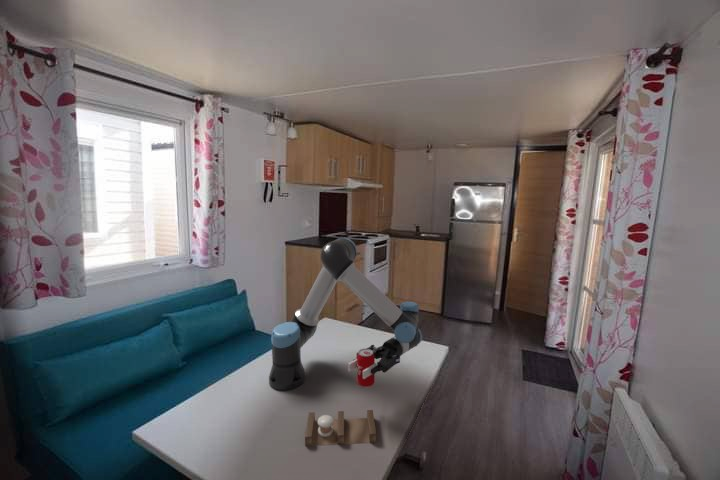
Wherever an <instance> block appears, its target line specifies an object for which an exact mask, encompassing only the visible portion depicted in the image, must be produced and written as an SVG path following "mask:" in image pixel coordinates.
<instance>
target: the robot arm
mask: <svg viewBox="0 0 720 480" xmlns="http://www.w3.org/2000/svg"><path fill="white" fill-rule="evenodd" d="M357 255H358V248H357V245H356V243H355V242H354V241H353V240H351V239H350V238H347V237H338V238H336V239H335V240H332V241H329V242H328V243H326V244H325V245H324V246H323V247H322V249H321V251H320V262H321V265H322V268H321V269H320V271H319V273H318V275H317V277H316V279H315V281H314V283H313V285H312V287H310V288H311V289H310V290H309V293H308V294H307V296H306V298H305V300H304V302H303V304H302V306H301V308H298V309H296V311H295V312H294V314H293V316H292V318H291V320H290V321H288V322H287V321H286V322H282V323H279V324H277V325H276V326H274V328H273V329H272V331H271V338H270V342H271V359H272V366H271V368H270V371H269V375H268V383H269V386H270V387H271V388H272V389H274V390H278V391H288V390H293V389H296V388H299V387H300V386H301V385H303V384H304V382H305V381H306V370H305V368H304V365H303V363H302V360H301V357H302V356H301V355H302V354H301V348H303V346H304V345H305V344H306V343H307V342H308V341H309V340H310V339H311V338H313V336H314V335H315V334H316V330H317V327H318V324H319V322H320V320H319V316H320V314H321V312H322V310H323V309H324V306H325V305H326V302H327V301H328V299H329V297H330V295H331V294H332V291H333V289H334V288H335V286H336V284H337V282H342V283H343V284H344V285H345V286H346V287H347V288H348V289H349V290H350V291H351V292H352V293H354V294H355V296H357V298H359V299H360V300H361V301H362V302H363V303H364V304H365V305H366V306H367V307H368V308H369V309H370V310H371V311H372V312H373V313H375V314H376V315H377V316H378V317H379V318H380V319H381V320H382V321H383V322H384V323H385V324H386V325H387V326H388V327H389V328H390V329H391V330H392V331H393V332H394V336H393V337H391V338H389V339H388V340H385V341H384V343H383V344H382V345H381V346H375V345H374V344H371V345H370V346H368V347H367V348H365V349H370V350H372V351H373V354H374V356H375V360H378V359H380V360H379V361H377V363H376V362H375V363H374V364H373V365H371V366H370V367H368V368H366V369H365V370H363V379H365V378H367V377H368V376H370V375H371V374H375V375H376V374H377V373H378V372H381V373H383V374H384V373H386V372H387V371H389V370H390V369H392V368H393V367H394V366H396V365H397V364H400V362H401V356H403V355H404V354H406V353H407V352H409V351H410V350H411V349H413V348H416V347H417V346H418V345H420V344H421V342H422V340H423V334H422V331H421V330H420V328H419V313H420V311H419V308H420V307H419V304H418V303H416V302H414V301H404V302H402V303H400V307H398V306H397V305H396V304H395V303H394V302H393V301H392V300H391V299H389V297H388V296H387V295H386V294H384V293H383V292H382V291H381V290H380V289H379V288H378V287H377V286H376V285H375V284H374V283H373V282H372V281H371V280H370V279H369V278H368V277H366V275H364V273H362V272H361V271H360V270H359V269H358V268H357V267H356V266H355V265H356V264H355V262H354V261H355V260H356V258H357ZM357 355H358V352H356V356H357ZM355 369H357V357H356V358H354V359H352V361H350V362H348V364H347V371H348V372H352V371H353V370H355Z"/></svg>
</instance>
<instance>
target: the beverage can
mask: <svg viewBox="0 0 720 480" xmlns="http://www.w3.org/2000/svg"><path fill="white" fill-rule="evenodd" d="M357 353H358V355H357V354H356V358H357V368H356V382H357V384H358V385H359V386H360V387H361V388H369V387H371V386H373V385H374V384H375V377H376V376H375V375H376V373H375V374H371V375H370V376H368V377H367V378H365V379H363V370H365V369H366V368H368V367H370V366H371V365H373V364H374V363H376V361H375V360H376V359H375V356H374V354H373V351H372V350H370V349H366V348H362V349H361V348H360V349H359V351H358V352H357Z"/></svg>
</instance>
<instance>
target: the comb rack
mask: <svg viewBox="0 0 720 480" xmlns="http://www.w3.org/2000/svg"><path fill="white" fill-rule="evenodd" d="M315 415H316V412H315V411H310V412H308V415H307V422H306V429H305V436H304V446H305V447H308V446H310V447H311V446H327V445H328V446H329V445H330V446H332V445H333V446H334V445H350V444H376V443H377V431H376V429H377V428H376V424H375V417H374V410H373V409H368V410H366V417H362V418H360V417H359V418H345V411H344V410H339V411H337V418H336V419H334V418H333V425H332V426H333V434H332V435H331V436H329V437H321V436H319V434H318V428H319V426H318V419H316V416H315Z"/></svg>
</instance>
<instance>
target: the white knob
mask: <svg viewBox="0 0 720 480" xmlns="http://www.w3.org/2000/svg"><path fill="white" fill-rule="evenodd" d="M333 419H334V418H333V417H332V416H331V415H328V414H323V415H321V416H320V417H318V419H317V420H318V426H319V428H318V434H319V436H321V437H329V436H331V435H332V434H333V426H332V425H333Z"/></svg>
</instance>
